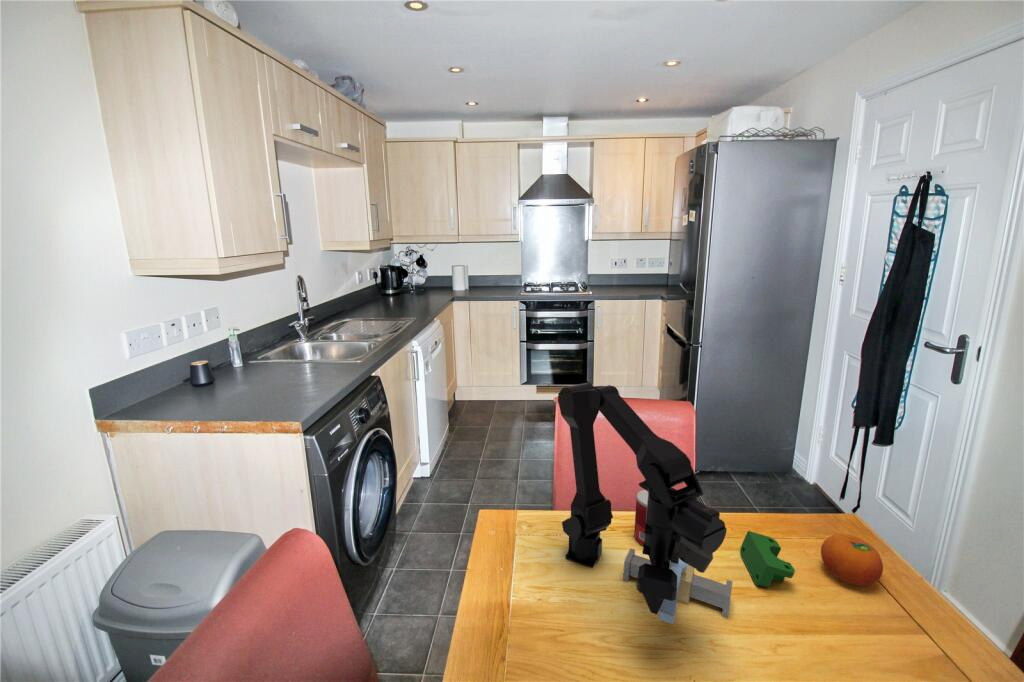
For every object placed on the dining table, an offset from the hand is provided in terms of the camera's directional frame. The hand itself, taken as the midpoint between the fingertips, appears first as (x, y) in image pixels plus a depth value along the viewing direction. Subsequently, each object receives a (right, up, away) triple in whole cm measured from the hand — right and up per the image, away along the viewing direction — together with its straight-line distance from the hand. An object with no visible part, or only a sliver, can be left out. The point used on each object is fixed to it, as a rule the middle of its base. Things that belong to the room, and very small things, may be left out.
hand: (656, 594), depth 86 cm
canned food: (+7, 0, +25) cm, 25 cm away
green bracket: (+28, -3, +14) cm, 31 cm away
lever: (+4, 0, +2) cm, 4 cm away
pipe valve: (+7, -4, +9) cm, 12 cm away
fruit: (+44, -3, +13) cm, 46 cm away
